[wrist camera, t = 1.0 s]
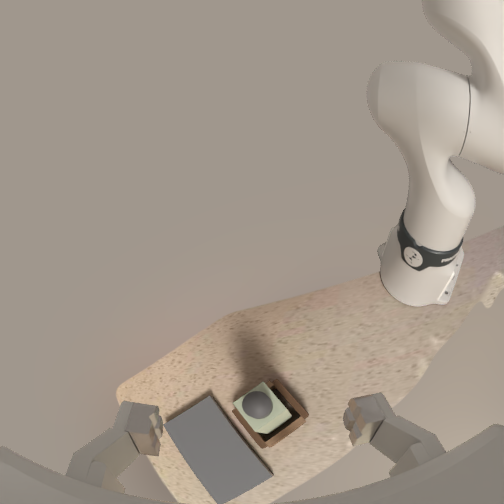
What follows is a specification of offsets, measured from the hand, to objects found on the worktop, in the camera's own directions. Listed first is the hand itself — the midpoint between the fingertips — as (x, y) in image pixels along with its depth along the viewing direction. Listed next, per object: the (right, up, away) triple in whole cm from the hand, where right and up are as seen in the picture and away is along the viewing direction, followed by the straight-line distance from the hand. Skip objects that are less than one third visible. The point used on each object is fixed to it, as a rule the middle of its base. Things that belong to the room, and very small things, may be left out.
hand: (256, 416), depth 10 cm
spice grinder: (+3, -19, +28) cm, 34 cm away
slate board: (-6, -25, +25) cm, 36 cm away
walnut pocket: (+3, -19, +28) cm, 34 cm away
